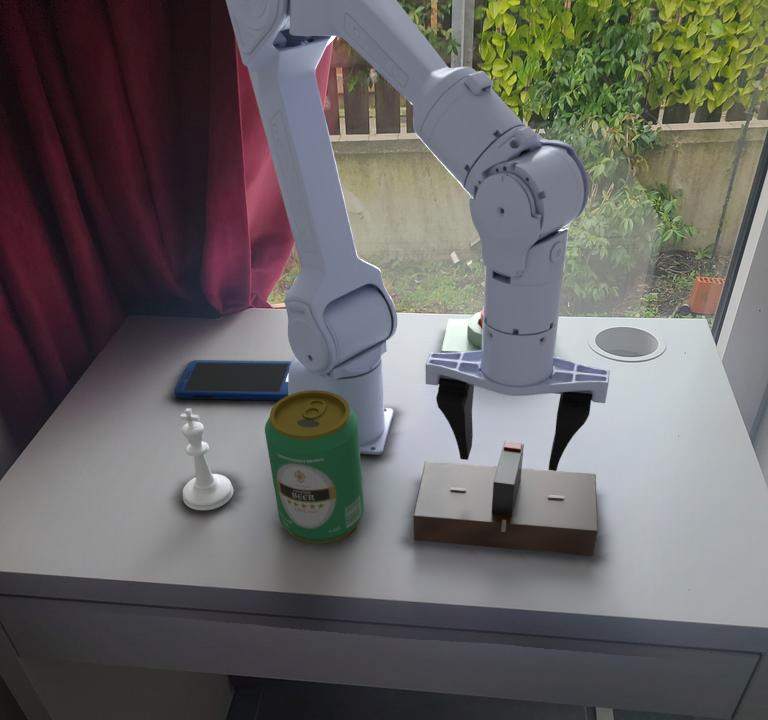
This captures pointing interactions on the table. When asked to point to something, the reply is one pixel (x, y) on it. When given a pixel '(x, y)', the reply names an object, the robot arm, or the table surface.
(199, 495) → the chess piece
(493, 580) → the table surface
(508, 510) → the dark grey rectangular block
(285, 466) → the beverage can
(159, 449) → the table surface
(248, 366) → the cell phone
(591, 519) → the panel
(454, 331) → the button box
